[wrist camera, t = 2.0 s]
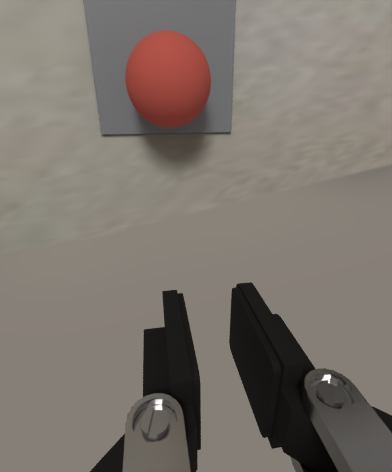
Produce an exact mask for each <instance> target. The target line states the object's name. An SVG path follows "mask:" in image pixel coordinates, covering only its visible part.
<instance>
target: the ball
mask: <svg viewBox="0 0 392 472" xmlns="http://www.w3.org/2000/svg"><path fill="white" fill-rule="evenodd" d="M125 79H126V88H127V92H128V95H129V98H130V100H131V102H132V104H133V106H134V107H135V109H136V110H137V111H138V113H139V114H140V115H141V116H142V117H144V118H145V119H146V120H147V121H149V122H151V123H153V124H155V125H157V126H160V127H165V128H174V127H180V126H183V125H185V124H187V123H189V122H191V121H192V120H194V119H195V118H196V117H197V116H198V115H199V114H200V113H201V111H202V110H203V108H204V107H205V105H206V103H207V100H208V97H209V94H210V88H211V74H210V69H209V65H208V62H207V60H206V57H205V55H204V54H203V52H202V50H201V49H200V48H199V46H198V45H197V44H196V43H195V42H194V41H193V40H191V39H190V38H189V37H187V36H185V35H184V34H181V33H179V32H175V31H169V30H164V31H157V32H154V33H151V34H149V35H148V36H146V37H144V38H143V39H142V40H140V41H139V42H138V44H137V45H136V46H135V47H134V49H133V50H132V52H131V54H130V56H129V59H128V62H127V66H126V74H125Z"/></svg>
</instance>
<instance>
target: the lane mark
mask: <svg viewBox="0 0 392 472" xmlns="http://www.w3.org/2000/svg"><path fill="white" fill-rule="evenodd" d="M84 7H85V15H86V22H87V30H88V38H89V45H90V53H91V60H92V68H93V75H94V83H95V90H96V98H97V105H98V113H99V120H100V128H101V134H154V133H208V132H231V119H232V91H233V64H234V36H235V9H236V0H84ZM164 30H169V31H175V32H179V33H181V34H184V35H185V36H187V37H189V38H190V39H191V40H193V41H194V42H195V43H196V44H197V45H198V46H199V48H200V49H201V50H202V52H203V54H204V55H205V57H206V60H207V62H208V65H209V69H210V74H211V88H210V94H209V97H208V100H207V103H206V105H205V107H204V108H203V110H202V111H201V113H200V114H199V115H198V116H197V117H196V118H195V119H194V120H192V121H191V122H189V123H187V124H185V125H183V126H180V127H174V128H165V127H160V126H157V125H155V124H153V123H151V122H149V121H147V120H146V119H145V118H144V117H142V116H141V115H140V114H139V113H138V111H137V110H136V109H135V107H134V106H133V104H132V102H131V100H130V98H129V95H128V92H127V88H126V79H125V74H126V66H127V62H128V59H129V56H130V54H131V52H132V50H133V49H134V47H135V46H136V45H137V44H138V42H139V41H140V40H142V39H143V38H144V37H146V36H148V35H149V34H151V33H154V32H157V31H164Z"/></svg>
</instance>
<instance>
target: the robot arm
mask: <svg viewBox="0 0 392 472" xmlns="http://www.w3.org/2000/svg"><path fill="white" fill-rule="evenodd" d="M163 306H164V321H165V322H164V323H165V327H162V328H153V329H146V330H144V362H143V398H142V399H140V400H138V401H137V402H136V403H135V404H134V406H132V408H131V410H130V411H129V413H128V415H127V420H126V426H125V434H124V435H123V436H122V437H121V438H120V439H119V440H118V441H117V443H116V444H115V445H114V446H113V447H112V448H111V449H110V450H109V451H108V452H107V454H106V455H105V456H104V457H103V458H102V459H101V460H100V461H99V462H98V463H97V464H96V466H95V467H94V468H93V469H92V470H91V471H90V472H196V470H197V450H200V449H201V434H200V433H201V432H200V431H201V421H200V419H201V417H200V376H199V370H198V365H197V360H196V356H195V350H194V345H193V340H192V336H191V331H190V326H189V321H188V316H187V311H186V307H185V302H184V297H183V294H182V293H179V294H177V290H171V291H163ZM229 341H230V342H229V343H230V349H231V352H232V355H233V358H234V361H235V364H236V366H237V369H238V372H239V375H240V377H241V380H242V383H243V385H244V388H245V391H246V394H247V397H248V399H249V402H250V405H251V408H252V410H253V413H254V416H255V419H256V421H257V424H258V427H259V430H260V432H261V435H262V437H264V438H265V437H268V439H269V442H270V444H271V447H272V448H278V447H282V449H283V452H284V453H286V454H287V455H289V456H290V457H291V460H292V464H293V466H294V469H295V471H296V472H392V416H391V415H389V414H387V413H385V412H383V411H381V410H379V409H377V408H375V407H372V406H370V404H369V403H368V402H367V400H366V399H365V398H364V396H363V395H362V394H361V393H360V391H359V390H358V389H357V387H356V386H355V385H354V384H353V383H352V382H351V381H350V380H349V379H348V378H346V377H345V376H343V375H342V374H340V373H338V372H336V371H333V370H329V369H315V367H314V366H313V365H312V363H311V362H310V360H309V359H308V357H307V356H306V354H305V353H304V351H303V350H302V348H301V347H300V345H299V344H298V342H297V341H296V339H295V338H294V336H293V335H292V333H291V332H290V330H289V329H288V328H287V326H286V324H285V323H284V321H283V320H282V318H281V317H280V316H279V315H278V314H272V313H271V311H270V310H269V308H268V307H267V305H266V304H265V302H264V301H263V299H262V297H261V296H260V294H259V293H258V291H257V289H256V288H255V286H254V285H253V284H252V283H241V284H237V286H236V288H233V289H232V299H231V319H230V340H229Z"/></svg>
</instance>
